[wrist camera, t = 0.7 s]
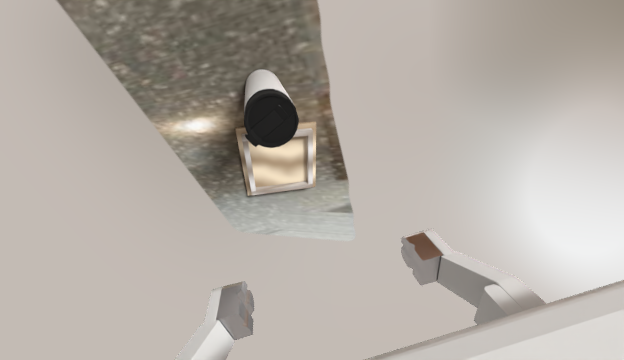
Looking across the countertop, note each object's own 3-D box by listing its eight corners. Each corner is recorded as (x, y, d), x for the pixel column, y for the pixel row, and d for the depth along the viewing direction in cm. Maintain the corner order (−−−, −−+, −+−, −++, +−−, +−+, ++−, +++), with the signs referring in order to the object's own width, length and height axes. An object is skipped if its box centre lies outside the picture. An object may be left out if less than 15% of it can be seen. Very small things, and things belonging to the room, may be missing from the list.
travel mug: (236, 85, 40) (228, 122, 24) (265, 60, 39) (276, 81, 23) (260, 113, 44) (267, 161, 27) (287, 91, 43) (311, 127, 26)
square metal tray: (235, 127, 44) (235, 132, 42) (315, 121, 47) (317, 125, 45) (248, 193, 53) (248, 199, 51) (314, 184, 56) (316, 190, 54)
